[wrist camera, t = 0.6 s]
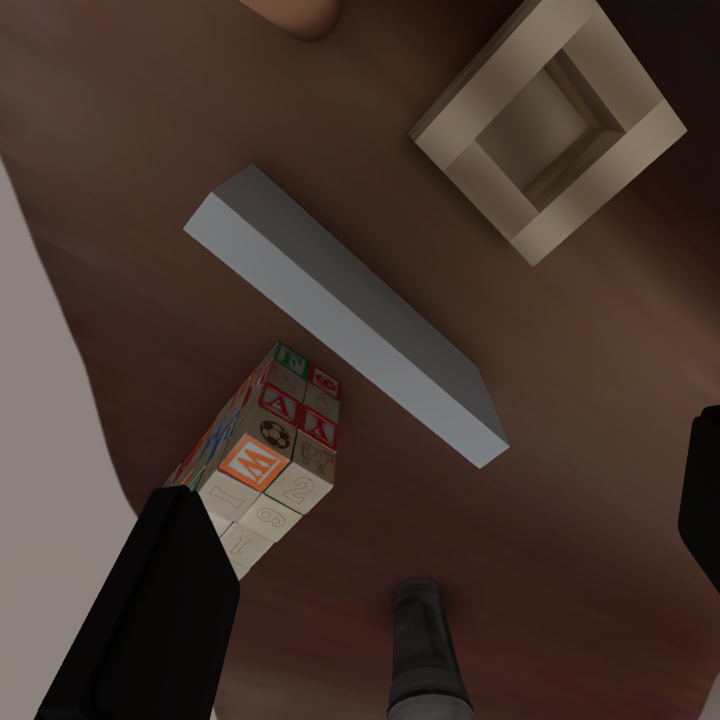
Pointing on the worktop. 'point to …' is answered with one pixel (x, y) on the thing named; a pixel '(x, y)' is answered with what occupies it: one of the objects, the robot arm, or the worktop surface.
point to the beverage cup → (424, 659)
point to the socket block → (547, 123)
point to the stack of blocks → (266, 455)
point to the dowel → (300, 16)
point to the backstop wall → (348, 309)
